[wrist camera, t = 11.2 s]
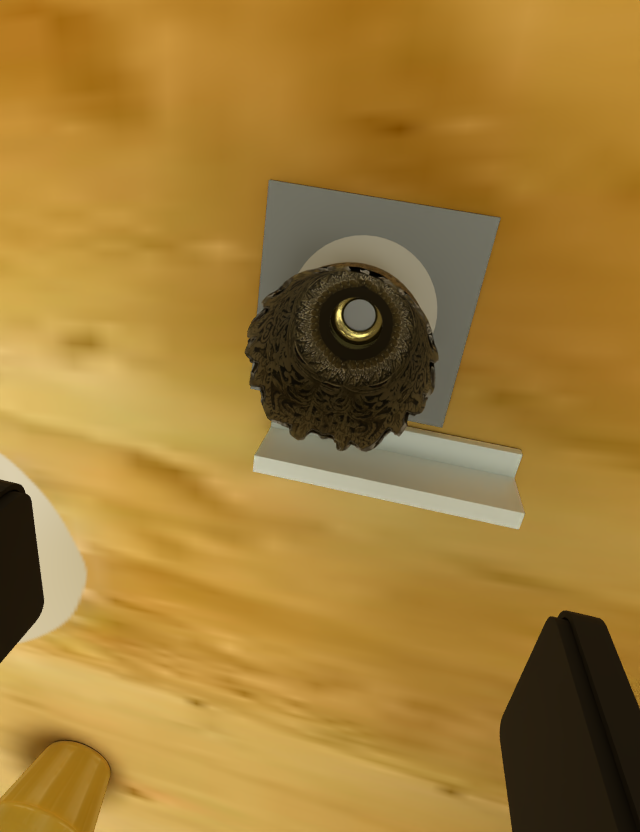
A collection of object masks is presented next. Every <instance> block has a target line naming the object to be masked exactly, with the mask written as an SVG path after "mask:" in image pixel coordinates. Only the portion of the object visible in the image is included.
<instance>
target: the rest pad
mask: <svg viewBox="0 0 640 832" xmlns="http://www.w3.org/2000/svg"><path fill="white" fill-rule="evenodd" d="M499 222H500V218H499V217H493V216H487V215H481V214H475V213H469V212H463V211H457V210H451V209H445V208H439V207H433V206H427V205H421V204H415V203H408V202H402V201H396V200H390V199H384V198H378V197H372V196H366V195H360V194H354V193H348V192H342V191H336V190H330V189H324V188H318V187H312V186H305V185H299V184H293V183H287V182H281V181H275V180H269V186H268V197H267V208H266V219H265V231H264V242H263V253H262V264H261V275H260V286H259V298H258V309H257V315H258V314H259V313H260V312H261V311H262V310H263V309H264V308H263V305H262V304H261V302H262V301H263V299H264V298H265V297H266V296H267V295H269V294H270V293H272V292H275V291H276V290H277V289H278V288H279V287H280V286H281V285H282V284H283V283H284V282H285V281H287V280H288V279H289V278H291V277H292V276H294V275H296V274H298V273H300V272H303V271H306V270H311V269H315V268H319V267H322V266H326V265H330V264H335V263H344V262H357V263H364V264H368V265H372V266H375V267H378V268H380V269H383V270H384V271H386V272H388V273H390V274H391V275H393V276H394V277H396V278H397V279H398V280H399V281H400V282H402V283H403V284H404V285H405V286H406V288H407V289H408V290H409V291H410V292H411V293H412V295H413V296H414V298H415V299H416V301H417V302H418V304H419V306H420V308H421V310H422V311H423V312H424V314H425V315H426V317H427V319H428V321H429V324H430V326H431V329H432V334H433V339H434V343H435V346H436V348H437V351H438V356H439V362H436V363H435V364H434V367H435V388H434V391H433V393H432V394H431V395H430V396H428V399H427V401H426V405H425V408H424V410H423V412H422V413H420V414H417V415H415V416H412V415H409V418H408V421H412V422H417V423H422V424H427V425H432V426H437V427H443V423H444V419H445V416H446V412H447V409H448V405H449V401H450V398H451V394H452V391H453V387H454V383H455V380H456V376H457V373H458V369H459V365H460V362H461V358H462V355H463V351H464V347H465V344H466V340H467V337H468V333H469V330H470V326H471V322H472V319H473V315H474V312H475V308H476V304H477V301H478V297H479V294H480V290H481V286H482V283H483V279H484V276H485V272H486V268H487V265H488V261H489V258H490V254H491V250H492V247H493V243H494V240H495V236H496V232H497V229H498V225H499ZM344 320H345V322H346V324H347V325H348V326H349V327H350V328H351V329H353V330H356V331H364V330H366V329H368V328H370V327H371V326H372V324H373V323H374V321H375V310H374V308H373V306H372V305H371V304H370V303H369V302H367V301H365V300H354V301H352V302H350V303H349V304H348V305H347V306H346V308H345V310H344ZM253 367H254V363H253V365H252V370H253ZM250 389H255V390H260V389H259V387H252V386H251V387H250Z"/></svg>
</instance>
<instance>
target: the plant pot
mask: <svg viewBox="0 0 640 832" xmlns="http://www.w3.org/2000/svg"><path fill="white" fill-rule="evenodd" d="M110 774H111V772H110V767H109V765H108V763H107V761H106V760H105V759H104V758H103V757H102V756H101V755H100V754H99V753H98V752H96V751H95V750H93V749H92V748H90V747H88V746H86V745H83V744H80V743H77V742H73V741H58V742H54V743H52V744H51V745H49V746H48V747H47V748H46V749H45V750H44V751H43V752H42V753H41V754H40V756H39V757H38V758H37V759H36V760H35V761H34V762H33V763H32V764H31V765H30V766H29V768H28V769H27V770H26V771H25V772H24V773H23V774H22V775H21V776H20V777H19V779H18V780H17V781H16V782H15V783H14V784H13V785H12V786H11V787H10V788H9V789H8V790H7V792H6V793H5V794H4V795H3V796H2V797H1V798H0V832H94V829H95V825H96V822H97V819H98V815H99V812H100V809H101V805H102V802H103V799H104V795H105V792H106V789H107V785H108V782H109V779H110Z"/></svg>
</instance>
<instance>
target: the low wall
mask: <svg viewBox="0 0 640 832" xmlns="http://www.w3.org/2000/svg"><path fill="white" fill-rule="evenodd" d="M522 455H523V454H522V451H521V450H520V449H515V448H511V447H506V446H501V445H496V444H491V443H486V442H481V441H476V440H471V439H467V438H462V437H457V436H452V435H447V434H442V433H437V432H432V431H428V430H423V429H418V428H413V427H408V426H407V427H406V428H405V430H404V432H403V433H402V434H401V435H400V436H399V437H398V436H397V435H394V433H392V432H390V433H389V434H388V435H386V436H385V437H384V439H383V440H382V442H381V443H380V444H379V445H378V446H377V447H375V448H374V449H372V450H370V451H367V452H363V451H361V450H359V449H357V448H356V447H355V446H353V445H351V446H350V447H349V448H348V449H347V450H344V451H339V450H337V449H336V443H334V441H333V440H332V439H321V438H320V437H319V436H318V435H317V434H313V433H310V434H309V435H307V436H306V437H305V439H304V440H297V439H295V438H294V437H292V436H291V435H290V434H289V428H287V427H284V426H282V425H280V424H277V423H274V422H271V428H270V429H269V431H268V433H267V434H266V436H265V438H264V440H263V441H262V443H261V445H260V447H259V448H258V450H257V452H256V454H255V455H254V465H253V472H258V473H263V474H267V475H272V476H276V477H281V478H285V479H290V480H295V481H299V482H304V483H308V484H313V485H318V486H322V487H327V488H331V489H336V490H340V491H345V492H350V493H354V494H359V495H363V496H368V497H372V498H377V499H382V500H386V501H391V502H395V503H400V504H404V505H409V506H414V507H418V508H423V509H427V510H432V511H436V512H441V513H446V514H450V515H455V516H459V517H464V518H468V519H473V520H478V521H482V522H487V523H491V524H496V525H501V526H505V527H510V528H514V529H519V528H520V525H521V523H522V520H523V518H524V515H525V512H524V509H523V505H522V502H521V499H520V495H519V492H518V489H517V485H516V482H515V478H514V477H515V475H516V472H517V469H518V466H519V464H520V461H521V458H522Z"/></svg>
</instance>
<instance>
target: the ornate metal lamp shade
mask: <svg viewBox="0 0 640 832" xmlns="http://www.w3.org/2000/svg"><path fill="white" fill-rule="evenodd" d="M354 300H365V301H367V302H369V303H370V304H371V305H372V306H373V308H374V310H375V321H374V323H373V324H372V326H371V327H370V328H368V329H366V330H364V331H356V330H353V329H351V328H350V327H349V326H348V325H347V324H346V322H345V320H344V310H345V308H346V306H347V305H348V304H349V303H350V302H352V301H354ZM261 304H262V305H263V308H264V309H263V310H262V311H261V312H260V313H259V314H258V315H257V316H256V317H255V318H254V319H253V321H252V322H251V324H250V326H249V329H248V333H247V336H248V337H249V338H250V339H249V340H248V345H247V347H246V349H245V354H246V356H247V357H248V358H249V359H250V362H251V363H254V367H253V370H252V371H251V377H250V386H252V387H259V389H260V392H261V403H262V406H263V408H264V411H265V413H266V416H267V418H268V419H269V420H270V421H272V422H274V423H277V424H280V425H282V426H284V427H287V428H289V434H290V435H291V436H292V437H294V438H295V439H297V440H304V439H305V437H306V436H307V435H309V434H310V433H313V434H317V435H318V436H319V437H320V438H321V439H332V440H333V441H334V443H336V449H337V450H339V451H344V450H347V449H348V448H349V447H350V446H351V445H353V446H355V447H356V448H357V449H359V450H361V451H363V452H367V451H370V450H372V449H374V448H375V447H377V446H378V445H379V444H380V443H381V442H382V440H383V439H384V437H385V436H386V435H388V434H389V433H390V432H392V433H394V435H397V436H398V437H399V436H400V435H401V434H402V433H403V432H404V430H405V428H406V427H407V421H408V418H409V415H412V416H415V415H417V414H420V413H422V412H423V410H424V408H425V405H426V401H427V399H428V396H430V395H431V394H432V393H433V391H434V388H435V367H434V364H435V363H436V362H439V356H438V351H437V348H436V346H435V343H434V339H433V334H432V329H431V326H430V324H429V321H428V319H427V317H426V315H425V314H424V312H423V311H422V310H421V308H420V306H419V304H418V302H417V301H416V299H415V298H414V296H413V295H412V293H411V292H410V291H409V290H408V289H407V288H406V286H405V285H404V284H403V283H402V282H400V281H399V280H398V279H397V278H396V277H394V276H393V275H391V274H390V273H388V272H386V271H384V270H383V269H380V268H378V267H375V266H372V265H368V264H364V263H357V262H344V263H335V264H330V265H326V266H322V267H319V268H315V269H311V270H306V271H303V272H300V273H298V274H296V275H294V276H292V277H291V278H289V279H288V280H287V281H285V282H284V283H283V284H282V285H281V286H280V287H279V288H278V289H277V290H276V291H275V292H272V293H270V294H269V295H267V296H266V297H265V298H264V299H263V301H262V302H261Z"/></svg>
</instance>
